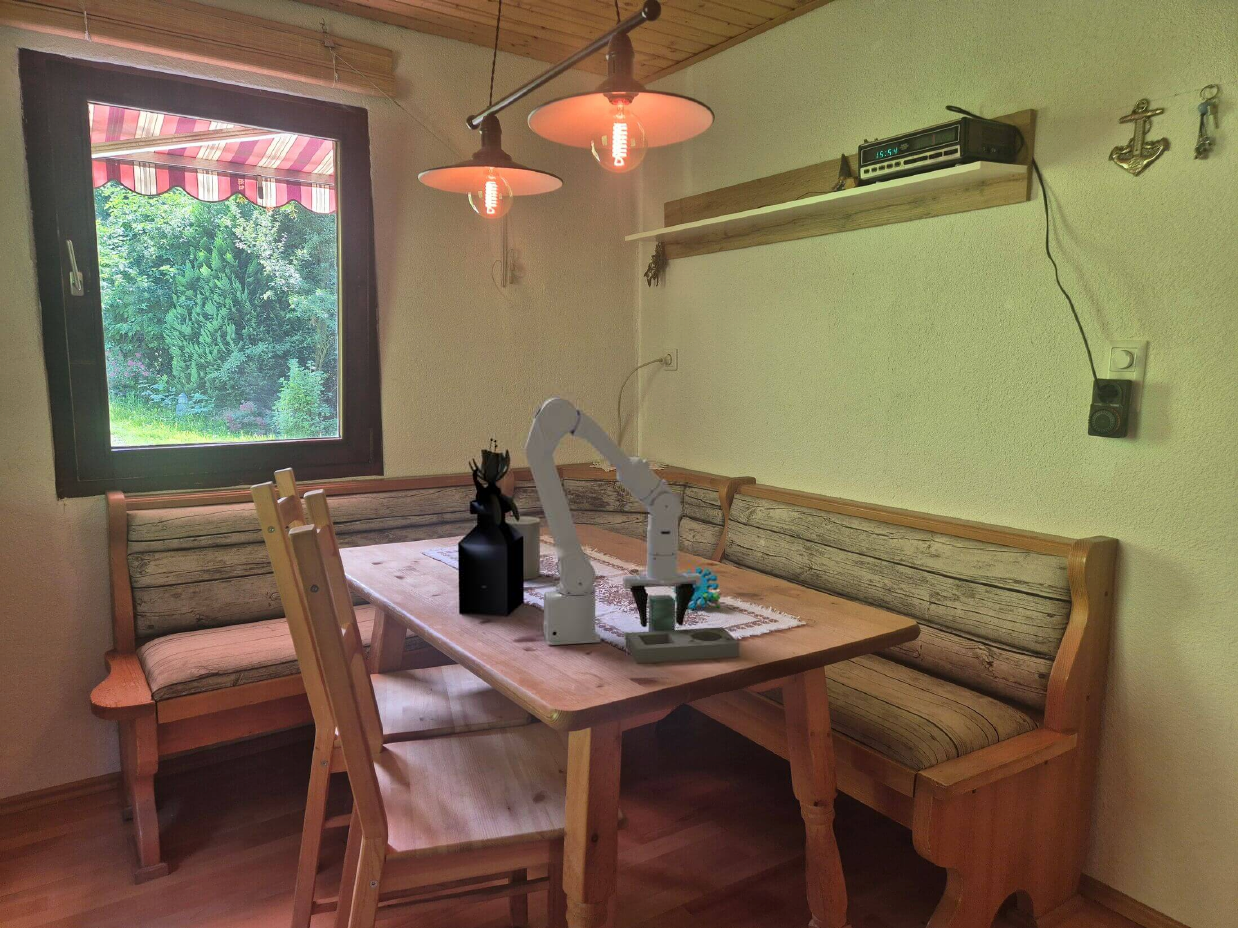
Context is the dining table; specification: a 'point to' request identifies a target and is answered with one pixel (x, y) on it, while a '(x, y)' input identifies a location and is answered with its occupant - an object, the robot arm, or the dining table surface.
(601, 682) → the dining table surface
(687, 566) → the dining table surface
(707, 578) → the gear
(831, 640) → the dining table surface
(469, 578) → the vase
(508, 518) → the pillar candle
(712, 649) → the hole plate
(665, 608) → the square peg
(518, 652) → the dining table surface
